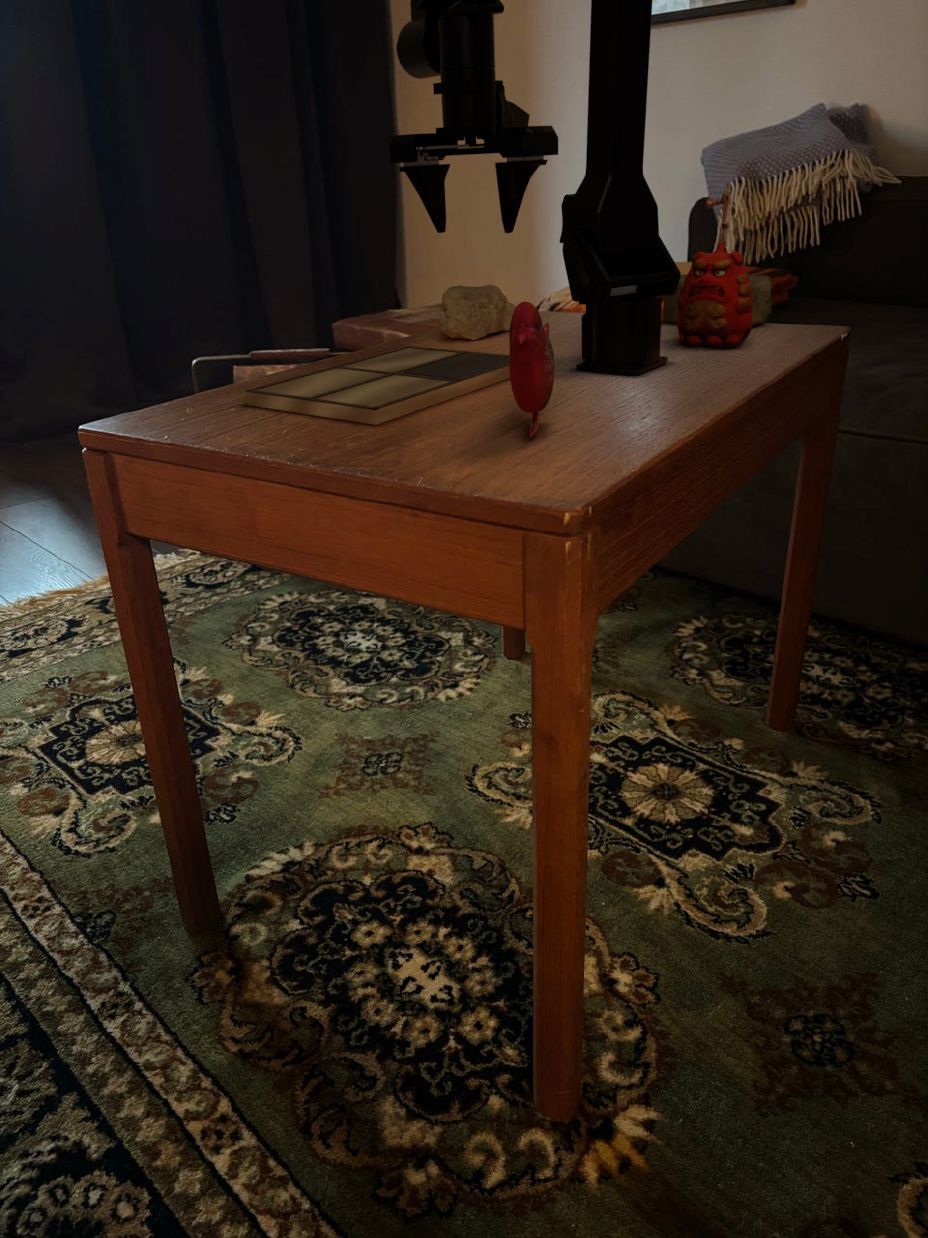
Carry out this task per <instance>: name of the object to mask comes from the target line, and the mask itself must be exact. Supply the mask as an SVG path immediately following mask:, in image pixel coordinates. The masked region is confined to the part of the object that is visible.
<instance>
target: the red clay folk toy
mask: <svg viewBox="0 0 928 1238" xmlns="http://www.w3.org/2000/svg"><path fill="white" fill-rule="evenodd" d="M731 193H732V191H731V182H726V191H724V192H723V193H722V197H721V199H713V198H712V197H708V198H707V199H705V202H706V206H705V208H706V209H707V210H708V209H709V210H710V209H711V208H713V207H715V206H720V205H721V206H722V221H721V224H720V226H721V233H720V238H719V240H718V244H717V248H716V249H715V250H714V251H713V252H711V253H708V252H704V251H699V252H697V253H695V255H694V256H693V257H692V261H691V266H690V269H689V271H688V272H687V273H686V274H687V276H686V278H685V281H684V284H683V286H682V288H681V289H680V294H679V299H678V310H679V315H678V320H677V323H676V328H677V329H676V330H677V332H678V340H679V342H680V343H681V344H682V345H683V344H686V345H695V346H697V345H704V346H709V347H711V348H731V347H738V346H739V347H740V344H741V343H743V342H745V341H746V340H747V338H748V337H749V335H750V334H751V332H752V330H753V325H754V324H753V314H752V303H753V296H752V289H751V284H750V280H749V277H748V275H749V274H748V272H747V270H746V267H745V265H744V263H743V261H744V258H743V253H741V252H739V251H733V252H728V249H727V236H726V235H727V234H726V232H727V230H728V229H729V228H730V226H729V225H730V224H729V222H728V220H727V217H728V213H729V204H730V195H731Z"/></svg>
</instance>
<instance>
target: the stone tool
mask: <svg viewBox="0 0 928 1238" xmlns="http://www.w3.org/2000/svg"><path fill="white" fill-rule="evenodd" d="M441 296H442V297H441V306H440V313H439V316H438V325H439V326H440V331H441V332H443V333H444V334H445V335H446V336H448V337H449V338H450V339H465V340H472V341H476V340H479V339H481V338H484V337H486V336H488V335H489V334H494V333H498V332H503V331H506V332H510V325H511V319H512V315H513V312H514V310H515V308H516V306H517V305H516V304H514V303H512V302H510V301H509V300H508V298H507V296H506V295H505V294H504V293H503V291H502V290H501V289H500V288H499V287H498V286H497V285H494V284H486V285H481V286H464V285H462V284H459V285H453V286H449V287H448V288H447V289H446V290H445V291H443V293H442V295H441Z"/></svg>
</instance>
